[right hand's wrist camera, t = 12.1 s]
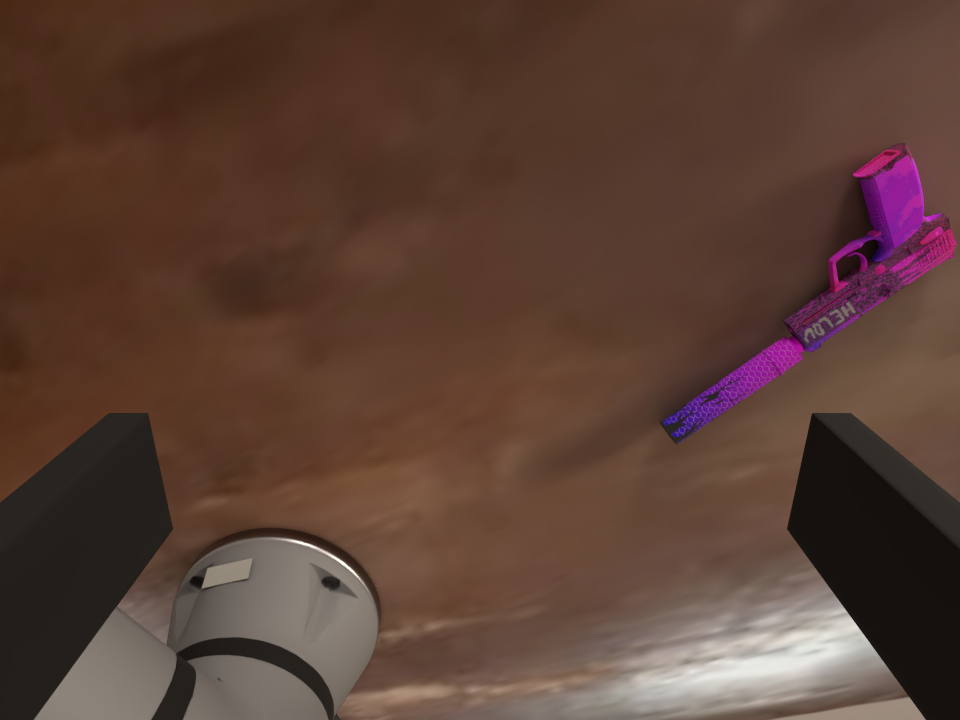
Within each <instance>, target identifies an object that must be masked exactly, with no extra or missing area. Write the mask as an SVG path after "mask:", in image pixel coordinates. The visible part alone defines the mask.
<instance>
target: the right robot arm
mask: <svg viewBox="0 0 960 720" xmlns="http://www.w3.org/2000/svg"><path fill="white" fill-rule="evenodd" d="M172 530H173V527H172V523H171V518H170V513H169V509H168V504H167V499H166V495H165V490H164V486H163V481H162V476H161V472H160V467H159V462H158V458H157V453H156V449H155V444H154V439H153V435H152V430H151V425H150V421H149V416H148V413H109V414H108V415H106V416H105V417H104V418H103V419H102V420H100V421H99V422H98V423H97V424H95V425H94V426H93V427H92V428H91V429H89V430H88V431H87V432H86V433H85V434H83V435H82V436H81V437H80V438H78V439H77V440H76V441H75V442H74V443H72V444H71V445H70V446H69V447H68V448H66V449H65V450H64V451H63V452H61V453H60V454H59V455H58V456H57V457H55V458H54V459H53V460H52V461H51V462H49V463H48V464H47V465H46V466H44V467H43V468H42V469H41V470H40V471H38V472H37V473H36V474H35V475H34V476H32V477H31V478H30V479H29V480H27V481H26V482H25V483H24V484H23V485H21V486H20V487H19V488H18V489H17V490H15V491H14V492H13V493H12V494H10V495H9V496H8V497H7V498H6V499H4V500H3V501H2V502H1V503H0V720H340V718H339V717H338V715H337V714H336V713H337V711H338V710H339V708H340V707H341V705H342V703H343V702H344V700H345V699H346V697H347V696H348V694H349V693H350V691H351V689H352V688H353V686H354V685H355V683H356V682H357V680H358V679H359V677H360V676H361V674H362V672H363V671H364V669H365V668H366V666H367V664H368V662H369V660H370V658H371V656H372V654H373V652H374V649H375V646H376V643H377V638H378V633H379V628H380V622H381V607H380V601H379V597H378V594H377V591H376V589H375V586H374V584H373V583H372V581H371V579H370V577H369V576H368V575H367V573H366V572H365V571H364V569H363V568H362V567H361V566H360V565H359V564H358V563H357V562H356V561H355V560H354V559H353V558H352V557H351V556H350V555H348V554H347V553H346V552H344V551H343V550H341V549H340V548H339V547H337V546H335V545H333V544H332V543H330V542H328V541H325V540H323V539H321V538H319V537H316V536H313V535H310V534H307V533H303V532H299V531H294V530H288V529H278V528H263V529H253V530H247V531H243V532H239V533H236V534H233V535H230V536H228V537H225V538H223V539H221V540H219V541H217V542H216V543H214V544H213V545H211V546H210V547H208V548H207V549H206V550H205V551H204V552H202V553H201V554H200V556H199V557H198V558H197V559H196V560H195V562H194V563H193V564H192V566H191V567H190V569H189V571H188V572H187V574H186V575H185V577H184V578H183V580H182V582H181V584H180V586H179V589H178V591H177V594H176V597H175V600H174V604H173V609H172V615H171V621H170V627H169V634H168V640H167V645H165V644H164V643H163V642H161V641H160V640H159V639H158V638H156V637H155V636H154V635H152V634H151V633H150V632H149V631H147V630H146V629H145V628H144V627H142V626H141V625H140V624H138V623H137V622H136V621H135V620H133V619H132V618H131V617H129V616H128V615H127V614H126V613H124V612H123V611H122V610H121V609H119V608H118V607H117V605H118V604H119V602H120V601H121V600H122V598H123V597H124V596H125V594H126V593H127V591H128V590H129V589H130V587H131V586H132V585H133V583H134V582H135V580H136V579H137V578H138V576H139V575H140V574H141V572H142V571H143V569H144V568H145V567H146V565H147V564H148V563H149V561H150V560H151V558H152V557H153V556H154V554H155V553H156V552H157V550H158V549H159V548H160V546H161V545H162V543H163V542H164V541H165V539H166V538H167V537H168V535H169V534H170V532H171V531H172ZM787 530H788V531H789V532H790V534H791V535H792V537H793V538H794V539H795V541H796V542H797V543H798V545H799V546H800V548H801V549H802V550H803V552H804V553H805V554H806V556H807V557H808V558H809V560H810V561H811V563H812V564H813V565H814V567H815V568H816V569H817V571H818V572H819V574H820V575H821V576H822V578H823V579H824V580H825V582H826V583H827V585H828V586H829V587H830V589H831V590H832V591H833V593H834V594H835V596H836V597H837V598H838V600H839V601H840V602H841V604H842V605H843V606H844V608H845V609H846V611H847V612H848V613H849V615H850V616H851V617H852V619H853V620H854V622H855V623H856V624H857V626H858V627H859V628H860V630H861V631H862V633H863V634H864V635H865V637H866V638H867V639H868V641H869V642H870V644H871V645H872V646H873V648H874V649H875V650H876V652H877V653H878V655H879V656H880V657H881V659H882V660H883V661H884V663H885V664H886V665H887V667H888V668H889V670H890V671H891V672H892V674H893V675H894V676H895V678H896V679H897V681H898V682H899V683H900V685H901V686H902V687H903V689H904V690H905V692H906V693H907V694H908V696H909V697H910V698H911V700H912V701H913V703H914V704H915V705H916V707H917V708H918V709H919V711H920V712H921V713H922V715H923V716H924V718H925V719H926V720H960V503H959V502H958V501H957V500H956V499H954V498H953V497H952V496H951V495H950V494H948V493H947V492H946V491H945V490H943V489H942V488H941V487H940V486H939V485H937V484H936V483H935V482H934V481H933V480H931V479H930V478H929V477H928V476H926V475H925V474H924V473H923V472H922V471H920V470H919V469H918V468H917V467H916V466H914V465H913V464H912V463H911V462H909V461H908V460H907V459H906V458H905V457H903V456H902V455H901V454H900V453H899V452H897V451H896V450H895V449H894V448H892V447H891V446H890V445H889V444H888V443H886V442H885V441H884V440H883V439H882V438H880V437H879V436H878V435H877V434H875V433H874V432H873V431H872V430H871V429H869V428H868V427H867V426H866V425H865V424H863V423H862V422H861V421H860V420H858V419H857V418H856V417H855V416H854V415H852V414H851V413H812V416H811V421H810V425H809V430H808V435H807V439H806V444H805V449H804V453H803V458H802V462H801V467H800V472H799V476H798V481H797V486H796V490H795V495H794V499H793V504H792V509H791V513H790V518H789V523H788V527H787Z"/></svg>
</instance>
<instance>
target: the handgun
mask: <svg viewBox="0 0 960 720" xmlns="http://www.w3.org/2000/svg"><path fill="white" fill-rule="evenodd" d="M853 176H855V177H858V178H859V180H860V183H861V184H860V185H861V186H862V187H861V189H862V192H863V193H864V194H863V195H864V199H865V202H866V204H865V205H867V207H866V208H867V209H868V210H867V211H868V212H869V213H868V215H870V217H869V218H870V219H871V220H870V221H871V224H872V225H873V228H874V230H871V231H870V232H868V233H867V235H866V236H864V237H862V238H860V239H856V240H853V241H851V242H849V243H848V244H847V245H846V246H845V247H843V248H842V249H841V250H840V251H838V252H837V253H836V254H835V255H833V256H832V257H831V258H830V259H829V260H828V270H829V279H830V288H829V289H827V290H826V291H825V292H823V293H822V294H820V295H819V296H817V297H816V298H815V299H813V300H812V301H810V302H809V303H807V304H806V305H805V306H803V307H802V308H800V309H799V310H797V311H796V312H795V313H793V314H792V315H790V316H789V317H787V318H786V319H785V320H783V321H784V322H785V324H786V325H787V327H788V330H789V331H790V333H791V334H792V335H793V336H794V337H793V336H792V337H790V338H789V339H788V338H786V337H785V336H784V337H783V338H781V339H780V340H778V341H777V342H775V343H774V344H773V345H771V346H770V347H768V348H767V349H765V350H762V351H761V352H760V353H759V354H758V355H757V356H755V357H754V358H752V359H751V360H749V361H748V362H746V363H745V364H743V365H742V366H741V367H739V368H738V369H736V370H735V371H733V372H732V373H730V374H729V375H727V376H726V377H725V378H723V379H722V380H720V381H719V382H717V384H714V385H713V386H712V387H710V388H709V389H707V390H706V391H704V392H703V393H701V394H700V395H698V396H697V397H696V398H694V399H693V400H691V401H690V402H688V403H687V404H685V405H684V406H683V407H681V408H680V409H678V410H677V411H675V412H674V413H672V414H671V415H669V416H668V417H667V418H665V419H664V420H662V421H661V422H660V423H661V425H662V427H663V428H664V429H665V431H666V432H667V434H668V435H669V436H670V437H671V439H672V440H673V441H674V442H675V443H676V444H678V443H679V442H681V441H682V440H684V439H685V438H687V437H688V436H690V435H691V434H693V433H694V432H696V431H697V430H699V429H700V428H702V427H703V426H705V425H706V424H708V423H709V422H711V421H712V420H714V419H715V418H717V417H718V416H719V415H721V414H722V413H724V412H725V411H727V410H728V409H730V408H731V407H733V405H736V404H737V403H739V402H740V401H742V400H743V399H745V398H746V397H748V396H749V395H751V394H752V393H754V392H755V391H757V390H758V389H760V388H761V387H762V386H764V385H765V384H767V383H768V382H770V381H771V380H773V379H774V378H776V377H777V376H779V375H782V374H783V372H785V371H786V370H788V369H789V368H791V367H792V366H794V365H795V364H796V363H798V362H799V361H801V360H803V357H802V355H801V353H802V352H803V351H804V350H806V351H809V352H813V351H814V350H816V349H817V348H819V347H821V345H820V344H821V343H822V342H824V341H825V340H827V339H828V338H829V337H831V336H832V335H834V334H835V333H837V332H838V331H840V330H841V329H843V328H844V327H846V326H847V325H849V324H850V323H852V322H853V321H855V320H856V319H858V318H859V317H861V316H862V315H863V314H864V313H865V312H867V311H868V310H870V309H871V308H873V307H874V306H876V305H877V304H878V303H880V302H881V301H883V300H884V299H886V298H887V297H890V296H892V295H893V294H895V293H896V292H898V291H899V290H900V289H902V288H903V287H905V286H906V285H908V284H909V283H911V282H912V281H914V280H915V279H917V278H918V277H920V276H921V275H923V274H924V273H926V272H927V271H929V270H930V269H932V268H933V267H934V266H937V265H938V264H940V263H942V262H944V261H945V260H947V259H948V258H953V257H954V255H953V252H954V248H955V245H956V241H955V239H954V238H953V234H952V230H951V229H950V224H949V219H948V217H946V216H945V215H944V214H942V213H937V214H934V215H931V216H927V217H924V216H923V210H924V203H923V193H922V187H921V183H920V179H919V175H918V172H917V168H916V165H915V162H914V160H913V158H912V155H911V153H910V151H909V149H908V147H907V145H906V144H905V143H900V144H897V145H893V146H891V147H890V148H888V149H887V150H885V151H883V152H882V153H881V154H879V155H878V156H877V157H875V158H874V159H873V160H871V161H870V162H868V163H867V164H866V165H864V166H863V167H862V168H860V169H859V170H858V171H856V172H855V173H854V174H853ZM869 240H876V241H877V242H878V249H877V251H876V252H875V254H874V255H873V256H872V258H871V259H869V260H868V261H867V259H866V258H865V256H863V255H862V254H860V253H858V252H851V251H854V250H856V249H858V248H860V247H861V246H862V245H863V244H864V242H866V241H869ZM848 253H849V254H848ZM846 254H848V255H847V256H846V257H849V256H852V255H853V254H857V255H858V256H859V257H860V260H861V265H860V266H859V267H858V268H856V269H855V270H854V271H852V272H851V273H849V274H848V275H847V276H846V277H845V278H843V279H842V280H840V281H839V280H838V275H837V269H836V264H835V263H836V262H837V261H838V260H839V259H840V258H841V257H843V256H844V255H846Z"/></svg>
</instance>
